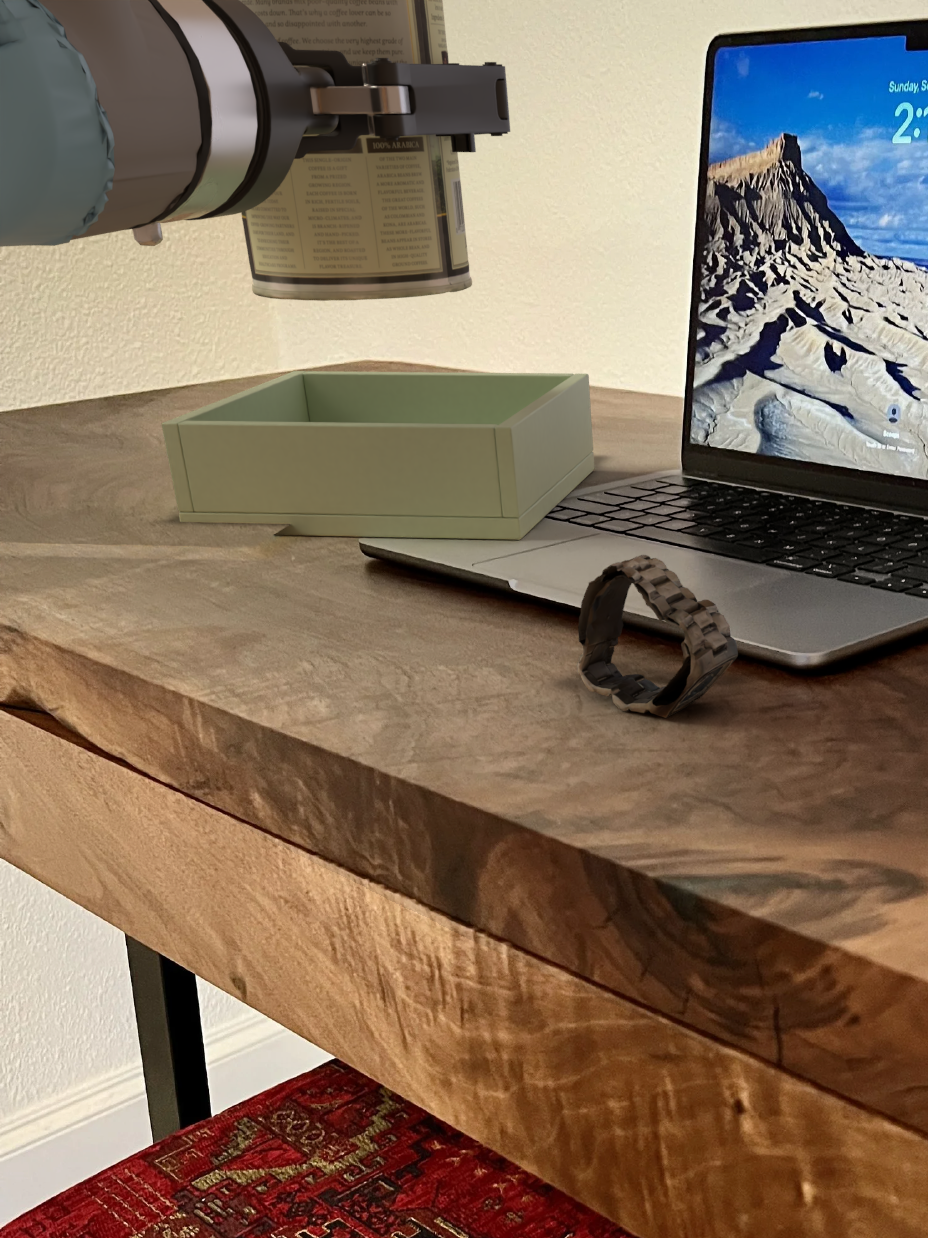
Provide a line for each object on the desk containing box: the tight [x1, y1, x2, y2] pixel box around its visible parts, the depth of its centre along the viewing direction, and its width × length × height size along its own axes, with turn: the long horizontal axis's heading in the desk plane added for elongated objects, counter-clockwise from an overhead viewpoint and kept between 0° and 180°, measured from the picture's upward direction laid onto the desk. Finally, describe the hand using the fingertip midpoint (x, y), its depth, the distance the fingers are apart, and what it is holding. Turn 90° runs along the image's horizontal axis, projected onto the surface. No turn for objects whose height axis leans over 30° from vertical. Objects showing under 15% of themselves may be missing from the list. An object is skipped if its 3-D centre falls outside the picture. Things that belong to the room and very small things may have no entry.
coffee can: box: [239, 0, 473, 302], centre depth 72 cm, size 10×10×14 cm
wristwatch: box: [575, 554, 739, 718], centre depth 54 cm, size 3×5×5 cm
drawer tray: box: [161, 370, 596, 541], centre depth 82 cm, size 17×17×5 cm
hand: (370, 101), depth 75 cm, fingers closed on coffee can, 10 cm apart
